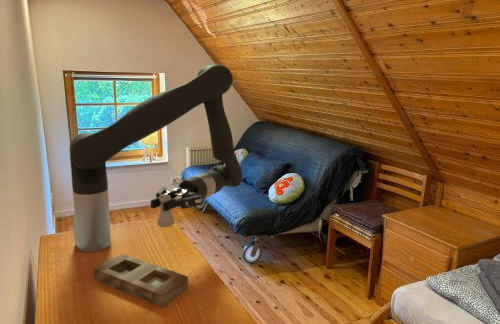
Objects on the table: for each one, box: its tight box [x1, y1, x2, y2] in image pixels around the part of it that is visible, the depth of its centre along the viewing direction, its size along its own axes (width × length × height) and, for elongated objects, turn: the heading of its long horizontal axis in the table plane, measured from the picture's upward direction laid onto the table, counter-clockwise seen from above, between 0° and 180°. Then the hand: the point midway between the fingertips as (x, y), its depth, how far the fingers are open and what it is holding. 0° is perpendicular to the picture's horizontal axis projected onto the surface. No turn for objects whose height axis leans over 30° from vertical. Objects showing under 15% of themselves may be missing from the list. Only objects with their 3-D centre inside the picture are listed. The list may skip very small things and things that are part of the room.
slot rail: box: [93, 253, 189, 308], centre depth 89 cm, size 22×9×3 cm, turn 62°
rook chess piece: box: [156, 194, 175, 228], centre depth 95 cm, size 4×4×8 cm
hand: (157, 206), depth 92 cm, fingers closed on rook chess piece, 3 cm apart
